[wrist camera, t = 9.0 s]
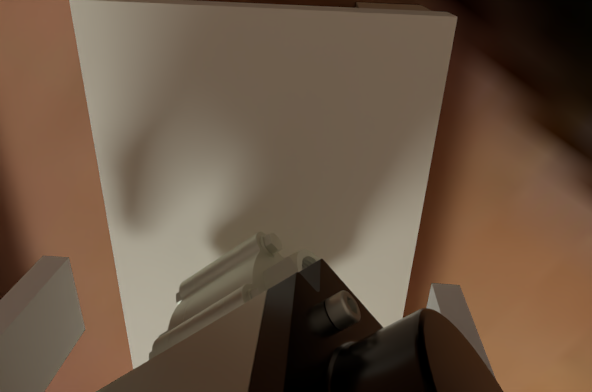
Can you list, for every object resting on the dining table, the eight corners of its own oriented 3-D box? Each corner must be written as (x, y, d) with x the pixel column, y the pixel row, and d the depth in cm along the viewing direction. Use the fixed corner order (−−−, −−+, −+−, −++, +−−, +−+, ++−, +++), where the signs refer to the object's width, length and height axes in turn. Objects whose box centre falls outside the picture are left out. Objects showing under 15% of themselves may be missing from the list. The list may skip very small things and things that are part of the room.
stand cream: (116, -9, 15) (68, -1, 12) (434, 5, 14) (457, 17, 12) (164, 358, 22) (141, 412, 20) (375, 375, 22) (381, 433, 19)
